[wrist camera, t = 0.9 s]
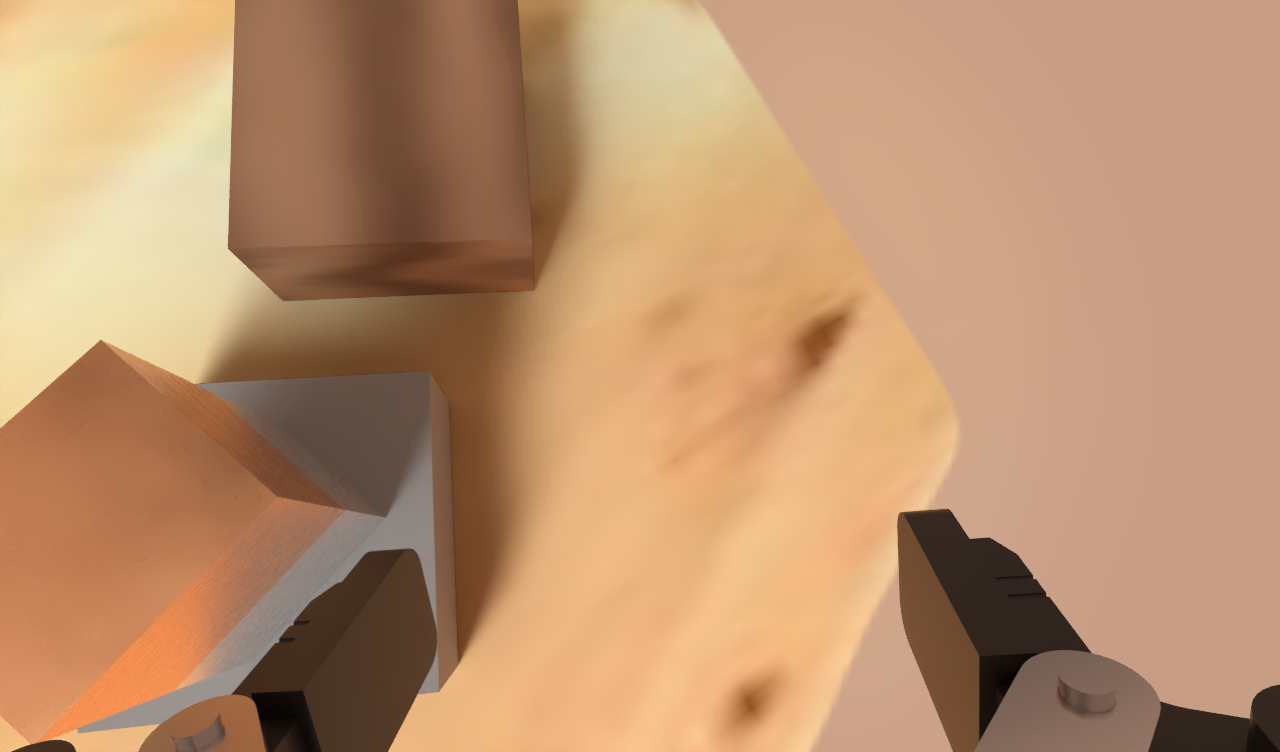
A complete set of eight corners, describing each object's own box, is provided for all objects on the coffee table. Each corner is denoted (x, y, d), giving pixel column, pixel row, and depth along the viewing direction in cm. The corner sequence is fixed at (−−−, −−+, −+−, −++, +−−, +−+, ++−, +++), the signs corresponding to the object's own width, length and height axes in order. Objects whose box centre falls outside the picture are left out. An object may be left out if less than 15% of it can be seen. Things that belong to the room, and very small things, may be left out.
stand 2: (169, 696, 29) (77, 733, 24) (181, 418, 32) (100, 389, 26) (458, 664, 31) (438, 691, 25) (449, 401, 33) (429, 370, 27)
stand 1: (282, 300, 33) (227, 248, 28) (285, 79, 36) (235, -13, 30) (533, 290, 35) (532, 238, 29) (521, 78, 37) (516, -9, 31)
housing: (141, 559, 25) (-158, 567, 14) (279, 424, 26) (100, 340, 16) (253, 660, 25) (32, 745, 14) (385, 517, 26) (277, 497, 15)
